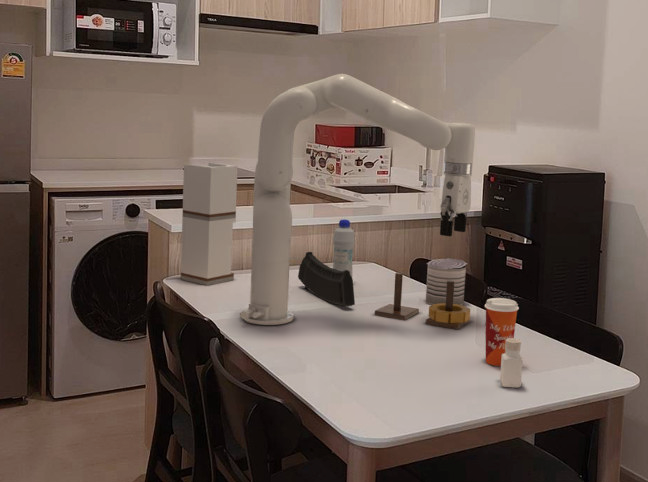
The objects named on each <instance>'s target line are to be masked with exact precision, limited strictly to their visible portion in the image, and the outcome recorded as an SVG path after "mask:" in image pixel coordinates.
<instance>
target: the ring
mask: <svg viewBox="0 0 648 482" xmlns="http://www.w3.org/2000/svg"><path fill="white" fill-rule="evenodd" d="M428 318H431V319H432V320H435V321H438V322H444V323H463V322H466V321H468V320H470V321H471V308H469V307H468V306H466V305H464V304H463V305H459V304H453V311H452V312H449V311H445V303H438V304H433V305H430V306H429V305H428Z"/></svg>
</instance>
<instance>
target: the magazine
mask: <svg viewBox="0 0 648 482" xmlns="http://www.w3.org/2000/svg"><path fill="white" fill-rule="evenodd" d="M297 278H298V280H299V281H300V282H301V283H302V285H303V286H305V289H307V290H309V291H310V292H312V294H313V295H315V296H316V297H318V298H319V299H321V300H323V301H325V302H328V303H331V304H335V305H341V306H343V307H352V306H355V304H356V301H355V289H354V281H353V280H354V279H353V276H352V277H351V275H350V271H348V270H345V271H339V270H336V269H333V267H330V266H328V265H326V264H325V263H323V262H322V261H320V260H319V259H318V258H317V257H316V256H315V255H314V254H313V252H312V251H307V252H305V256H304V257H303V258H302V260H301V263H300V265H299V269H298V274H297Z"/></svg>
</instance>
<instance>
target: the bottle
mask: <svg viewBox="0 0 648 482" xmlns="http://www.w3.org/2000/svg"><path fill="white" fill-rule="evenodd" d="M333 232H334V233H333V237H332V241H333V260H332V261H333V263H332V268H333V269H336V270H339V271H345V270H348V271H350V275H351V277H352V278H353V259H354V247H355V241H356V239H355V230H354V229H353V228H351V222H350V220H348V219H346V218H345V219H340V220H339V222H338V227H336V228H335V229H334V231H333Z"/></svg>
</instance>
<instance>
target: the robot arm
mask: <svg viewBox="0 0 648 482" xmlns="http://www.w3.org/2000/svg"><path fill="white" fill-rule="evenodd" d="M338 108H339V109H341V110H343V111H346V112H348V113H350V114H352V115H354V116H356V117H357V118H360V119H363V120H364V121H366V122H368V123H371V124H372V125H374V126H377V127H379V128H381V129H384V130H388V131H391V132H394V133H397V134H399V135H401V136H404V137H406V138H408V139H410V140H412V141H415V142H416V143H418V144H419V145H421V146H422V147H424V148H426V149H430V150H432V151H441V150H444V156H443V157H444V160H443V169H442V170H443V171H442V172H443V173H442V174H443V175H444V179H443V186H442V193H441V204H440V207H439V208H440V227H439V234H440V236H445V237H452V236H453V231H454V232H460V233H465V232H466V229H467V217H468V212H469V211H470V210H471V202H472V176H473V175H472V174H473V162H474V149H475V148H474V147H475V139H476V128H475V125H473V124H472V123H468V122H444V121H442V120H440V119H438V118H436V117H434V116H432V115H430V114H428V113H426V112H424V111H422V110H419V109H418V108H416V107H413V106H411V105H410V104H407V103H405V102H404V101H402V100H400V99H399V98H397V97H394V96H392V95H390V94H389V93H386V92H384V91H382V90H380V89H378V88H376V87H374V86H372V85H370V84H368V83H366V82H364V81H362V80H360V79H358V78H356V77H354V76H353V75H352V76H351V75H349V74H346V73H337V74H334V75H331V76H328V77H325V78H322V79H319V80H315V81H312V82H309V83H305V84H301V85H297V86H294V87H291V88H289V89H287V90H286V91H284V92H282V93H280V94H279V95H278V96H276V97H275V98H274V99H272V101H271V102H270V103H269V105H267V107H266V109H265V111H264V113H263V115H262V118H261V122H260V127H259V138H258V153H257V154H258V155H257V161H256V163H255V167H254V183H253V206H252V208H253V209H252V237H251V239H252V241H251V270H250V275H251V276H250V295H249V296H250V300H249V303H248V308H247V309H245V310H242V311H241V312H239V317H240V318H241V319H243V320H244V321H245V322H247V323H250V324H252V325H253V324H254V325H260V326H276V325H277V326H278V325H284V324H288V323H291V322H292V321H293V320H294V313H293V312H291V311H290V310H288V308H289V287H290V286H289V285H290V266H291V265H290V263H291V261H290V260H291V258H290V257H291V239H292V237H291V236H292V227H293V213H292V212H293V211H292V209H291V190H292V189H291V187H292V179H293V176H294V168H293V166H294V165H293V155H294V150H293V149H294V143H295V142H294V141H295V131H296V128H297V127H298V125H299V124H300V123H301V122H302V121H305V120H308V119H309V118H311V117H313V116H315V115H319V114H323V113H326V112H329V111H332V110H335V109H338ZM454 215H455V216H454ZM453 218H454V220H453Z"/></svg>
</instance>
